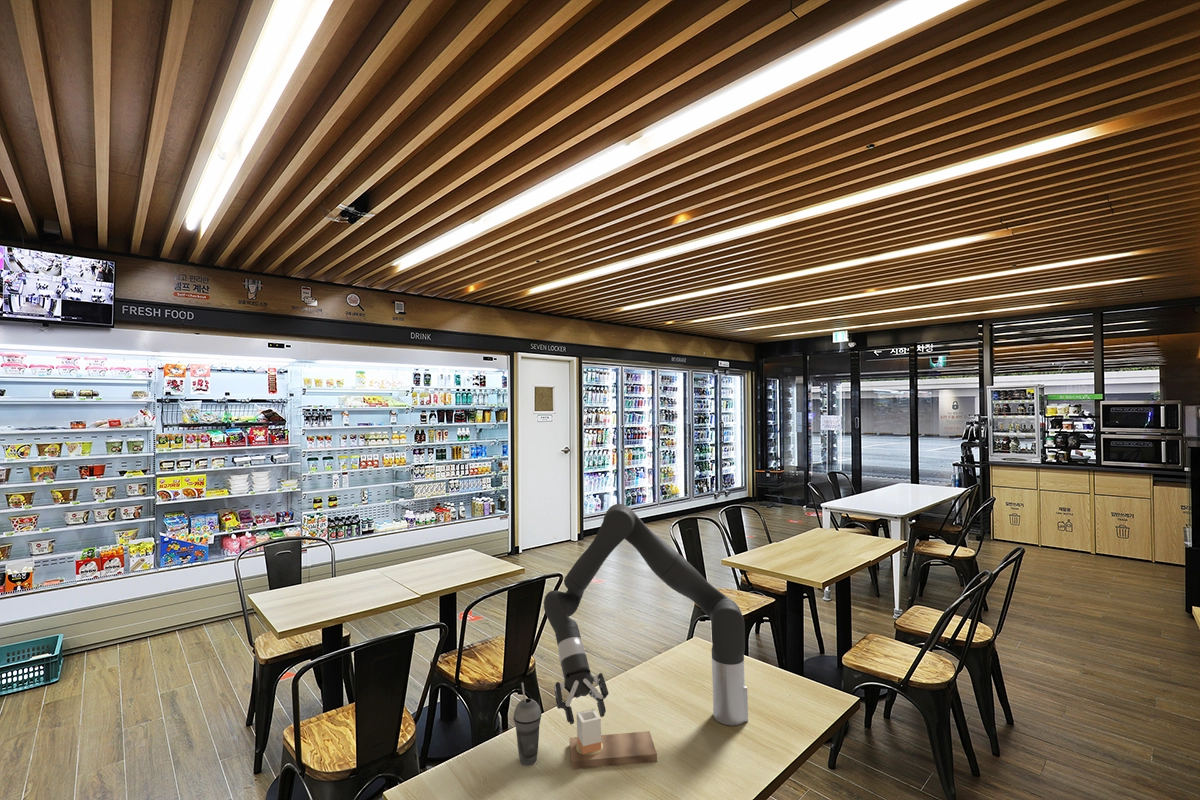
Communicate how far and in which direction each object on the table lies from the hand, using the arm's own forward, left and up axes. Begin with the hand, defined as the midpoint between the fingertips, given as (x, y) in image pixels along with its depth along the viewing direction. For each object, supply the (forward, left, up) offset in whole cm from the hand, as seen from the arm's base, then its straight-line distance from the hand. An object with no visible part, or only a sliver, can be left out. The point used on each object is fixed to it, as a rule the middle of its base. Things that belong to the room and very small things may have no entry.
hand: (587, 719), depth 145 cm
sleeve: (0, +1, -6) cm, 7 cm away
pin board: (-6, +1, -9) cm, 11 cm away
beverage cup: (+16, +1, -9) cm, 18 cm away
